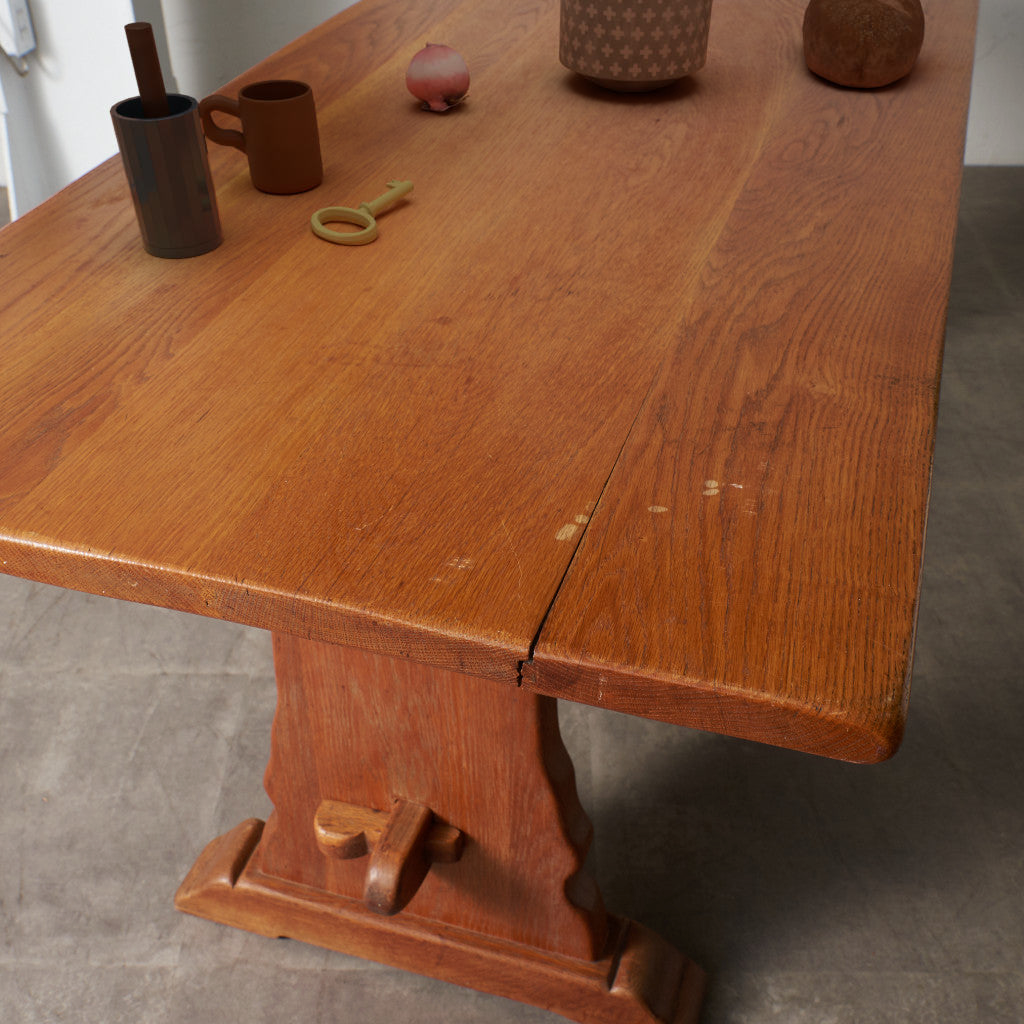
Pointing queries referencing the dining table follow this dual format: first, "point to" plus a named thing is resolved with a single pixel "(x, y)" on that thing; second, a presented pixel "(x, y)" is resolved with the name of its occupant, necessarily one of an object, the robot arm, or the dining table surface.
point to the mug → (271, 133)
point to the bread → (863, 40)
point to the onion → (438, 76)
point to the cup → (169, 177)
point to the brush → (147, 69)
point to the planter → (634, 41)
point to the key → (358, 216)
